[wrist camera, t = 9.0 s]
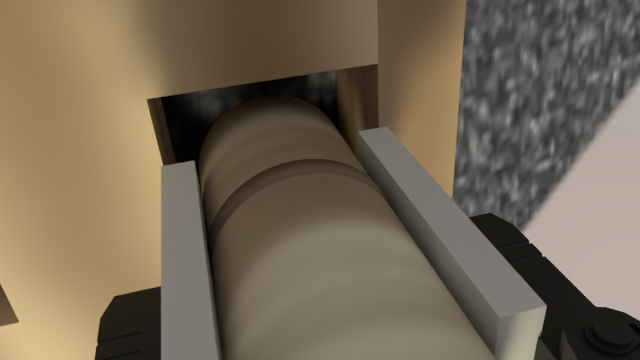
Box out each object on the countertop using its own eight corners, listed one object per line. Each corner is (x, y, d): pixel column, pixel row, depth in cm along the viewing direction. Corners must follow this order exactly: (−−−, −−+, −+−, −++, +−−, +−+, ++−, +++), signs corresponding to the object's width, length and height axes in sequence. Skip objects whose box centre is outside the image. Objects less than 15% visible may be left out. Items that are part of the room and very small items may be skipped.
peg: (182, 107, 13) (251, 847, 3) (340, 81, 14) (802, 616, 4) (211, 238, 15) (306, 935, 5) (346, 211, 16) (657, 773, 6)
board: (-178, 352, 17) (-260, 467, 14) (-453, 5, 12) (-701, 58, 8) (399, 227, 21) (445, 295, 18) (402, -82, 15) (470, -70, 12)
